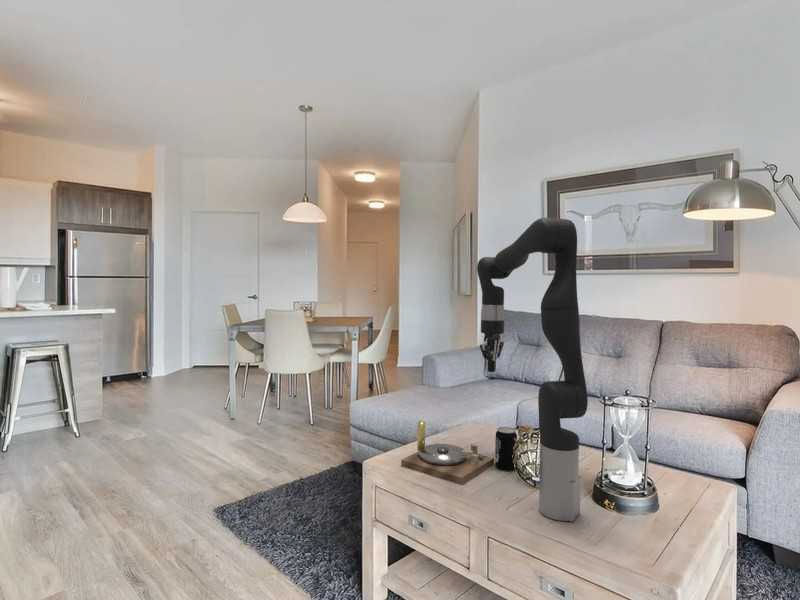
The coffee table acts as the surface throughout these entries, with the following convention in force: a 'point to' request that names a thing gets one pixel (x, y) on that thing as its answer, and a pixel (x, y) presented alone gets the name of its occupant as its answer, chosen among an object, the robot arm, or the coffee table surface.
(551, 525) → the coffee table surface
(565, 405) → the robot arm
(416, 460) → the turntable
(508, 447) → the beverage can
